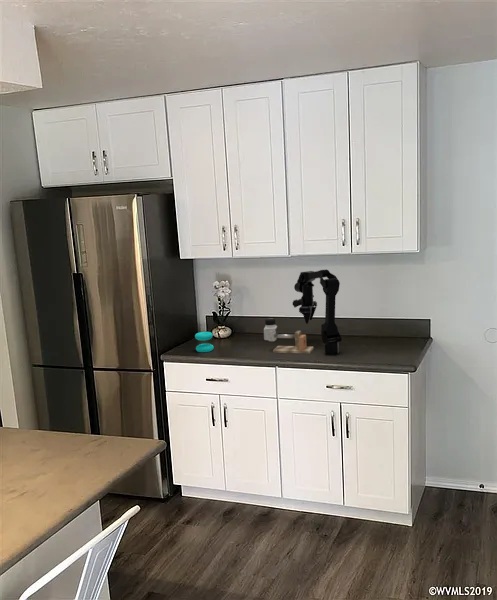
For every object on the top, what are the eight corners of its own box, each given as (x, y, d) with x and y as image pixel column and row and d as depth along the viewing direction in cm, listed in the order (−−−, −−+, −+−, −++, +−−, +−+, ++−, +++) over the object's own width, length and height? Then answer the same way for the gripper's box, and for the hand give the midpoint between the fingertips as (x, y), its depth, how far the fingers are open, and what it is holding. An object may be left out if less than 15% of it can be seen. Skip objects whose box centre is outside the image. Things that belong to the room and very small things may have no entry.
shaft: (295, 339, 327) (295, 330, 327) (293, 341, 324) (293, 332, 323) (270, 339, 332) (270, 330, 331) (268, 341, 328) (268, 332, 327)
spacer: (306, 347, 328) (305, 334, 327) (303, 350, 321) (303, 337, 320) (302, 347, 329) (301, 334, 327) (299, 350, 322) (298, 337, 321)
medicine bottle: (276, 340, 353) (275, 320, 351) (264, 340, 355) (263, 320, 353) (278, 337, 360) (277, 317, 358) (266, 337, 362) (265, 317, 360)
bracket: (313, 348, 328) (312, 329, 327) (309, 353, 319) (308, 334, 317) (278, 347, 335) (277, 329, 333) (273, 352, 325) (272, 333, 324)
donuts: (191, 333, 339) (207, 330, 344) (193, 350, 341) (208, 347, 346) (199, 336, 331) (215, 333, 336) (200, 353, 332) (217, 350, 337)
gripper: (297, 291, 345) (298, 318, 347) (289, 297, 327) (290, 325, 330) (316, 291, 341) (317, 318, 344) (309, 296, 324) (310, 325, 326)
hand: (308, 321), depth 336 cm, fingers open, 9 cm apart
